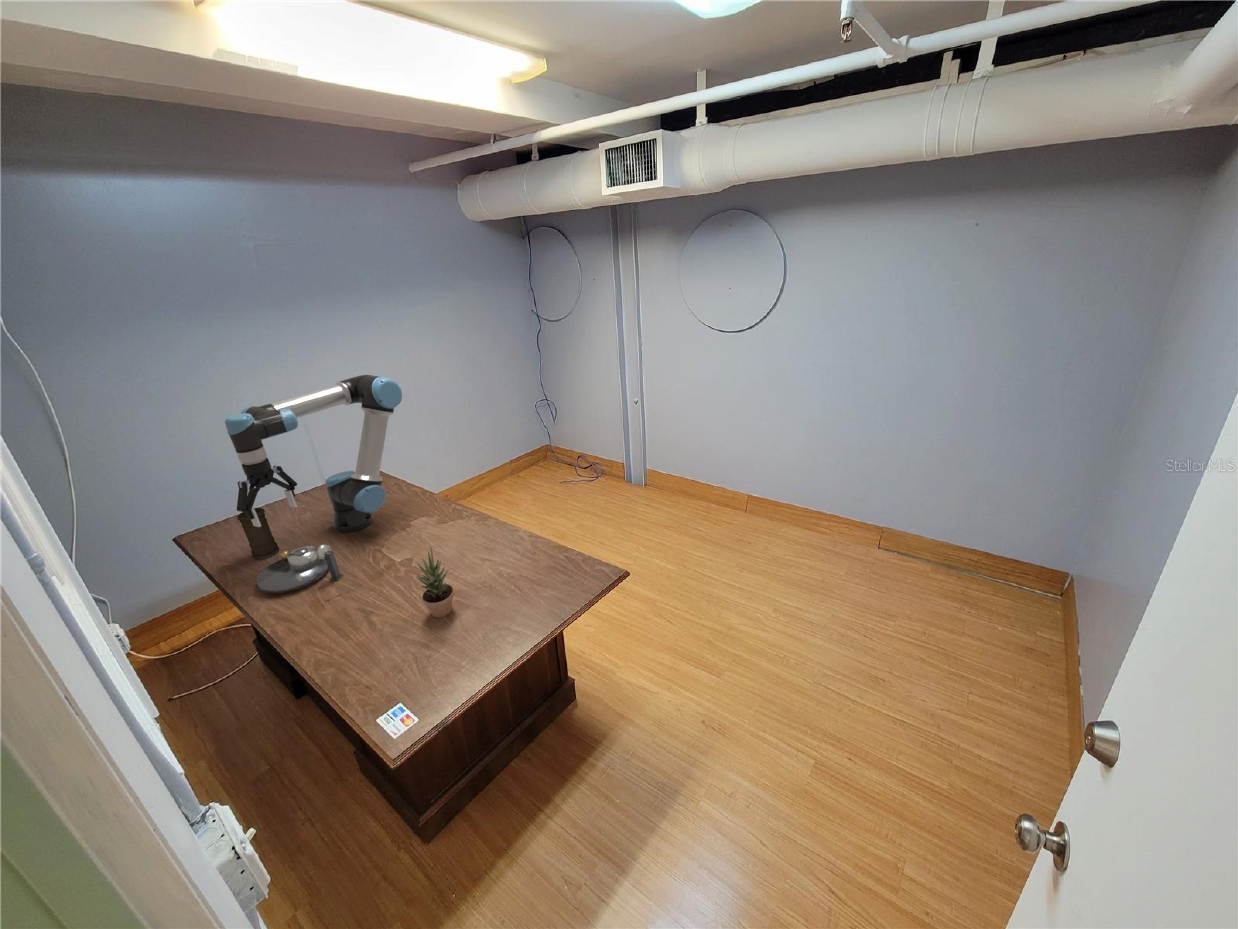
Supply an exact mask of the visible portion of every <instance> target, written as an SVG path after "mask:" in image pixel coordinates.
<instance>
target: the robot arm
mask: <svg viewBox="0 0 1238 929" xmlns="http://www.w3.org/2000/svg"><path fill="white" fill-rule="evenodd" d="M402 399H403V393H402V389H401V387H400V385H399V384H398V382H397V381H396V380H394V379H392V378H389V377H386V376H377V375H371V374H361V375H356V376H353V377H350V378H347V379H343V380H339V381H337V382H336V383H335V384H334V385H331V386H327V387H325V388H321V389H318V390H314V391H309V392H307V393H303V394H300V395H295V396H293V397H289V398H286V399H282V400H279V401H275V402H271V403H268V404H264V405H260V406H257V405H256V406H253V405H252V406H247V407H245V408H243V409H242V410H241V411H240V414H238V413H237V414H233V415H231V416H228V417H226V418H225V419H224V424H225V425H224V426H225V428H226V431H227V435H228V437H229V438H230V441H231V442H232V445H233V448H234V450H235V452H236V455H237V457H238V460H239V462H240V463H241V468H242V470H243V473H244V474H245V476H246V480H243V481H241V480H238V481H237V487H238V492H237V493H238V495H237V501H236V502H237V504H236V511H237V512H240V513H242V512H245V513H246V515H247V518H248V519H251V521H252V523H253V526H256V527H261V524H260V521H259V519H258V516H257V514H256V512H255V509H254V508H253V506H254V505H255V501H256V498H257V496H258V493H259V492H260V490H261V489H263V488H265V487H266V486H268V485H269V486H270V485H271V483H273V484H274V485H276V486H279V487H281V488H283V489H285V490H283V492H284V495H285V497H286V500H287V502H288V505H289V507H290V508H295V509H296V508H298V505H297V502H296V499H295V498H296V494H295V491H296V490H295V489H296V487H297V486H298V483H297V482H296V481H295V480H294V479H293V478H292V477H290V475H288V474H287V473H286V472H285V471H284V469H283V468H282V466H280V465H273V466H272V465H271V462H270V460H269V458H268V454H267V451H266V450H265V446H264V444H263V440H266V439H269V438H274V437H276V436H279V435H282V434H287V433H289V432H292V431H293V430H294V431H295V430H296V429H297V428H298V427H299V422H298V419H299V418H301V417H302V418H303V417H305V416H307V415H311V414H314V413H318V412H321V411H325V410H328V409H330V408H334V407H338V406H341V405H345V406H350V405H353V404H361V409H362V411H363V412H364V416H363V423H362V430H361V435H360V441H359V449H358V455H357V459H356V466H355V470H347V471H342V472H341V471H340V472H338V473H335V474H333V475H330V476H329V477H327V478H326V479H325V488H326V491H327V494H328V497H329V500H330V503H331V506H332V509H333V521H332V525H333V528H334V530H335V532H338V533H353V532H357V531H360V530H362V529H364V528H366V527H368V526H370V525H371V524H372V523H373V521H374V516H373V513H374V512H376V511H378V509H380V508H381V507H382V506H383V505H384V503H385V502H386V499H387V498H386V497H387V492H386V490H385V489H384V488H383V486H382V484H383V478H382V477H381V475H380V474H381V473H380V472H381V466H382V460H383V453H384V449H385V448H384V447H385V441H386V435H387V427H388V422H389V418H390V416H392V415H393V414H394V412H395V411H394V410H395V408H396V407H398V405H400V404H401V402H402ZM274 474H276V475H277V476H279V477H280V478H281V479H283V481H282V480H280V479H278V478H276V477H274ZM248 487H249V488H248Z"/></svg>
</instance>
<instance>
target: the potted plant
mask: <svg viewBox="0 0 1238 929" xmlns="http://www.w3.org/2000/svg"><path fill="white" fill-rule="evenodd" d="M429 547H430V552H429V551H427V556H428V562H426V560H425V559H424V558H423V557H421V560H422V562H423V565H424V567H423V566H421V564H419V562H416V564H417V567H418V568H419V569H420V571H421V572H422V573H423V575H422V576H420V575H418V574H417V575H415V579H418V581H419V582H420V583H422V584H423V585H420V587H421V588H423V589H425V590H424V591H423V592H422V593H421V601H422V603H423V605H425V606H426V608H428V611H429V612H430V614H431V615H432V617H434V618H443V617H446V616H448V615H449V614H450V613H451V612H452V609H453V598H454V596H455V590H454V587H453V586H452V585H451V584H448V583H447V582H445V581H444V580H445V578H446V576H447V574H448V572H449V569H448V570H446V572H445V573H444V571H445V568H446V567H445V566H443V568H442V570H441V571H440V569H441V565H442V560H439V559H437V561H436V564H435V560H434V553H433V549H432V545H431V544H429ZM424 585H425V586H424Z"/></svg>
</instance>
